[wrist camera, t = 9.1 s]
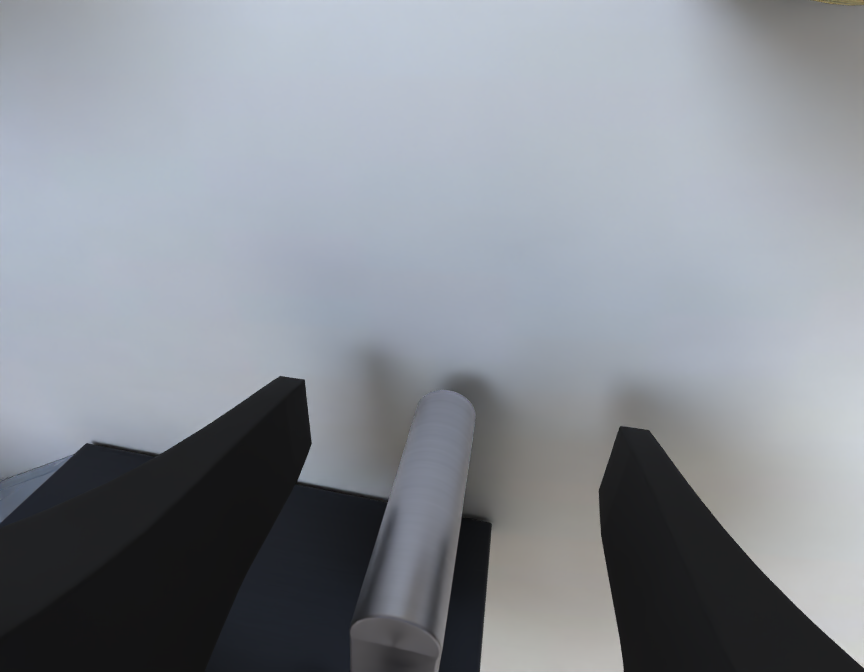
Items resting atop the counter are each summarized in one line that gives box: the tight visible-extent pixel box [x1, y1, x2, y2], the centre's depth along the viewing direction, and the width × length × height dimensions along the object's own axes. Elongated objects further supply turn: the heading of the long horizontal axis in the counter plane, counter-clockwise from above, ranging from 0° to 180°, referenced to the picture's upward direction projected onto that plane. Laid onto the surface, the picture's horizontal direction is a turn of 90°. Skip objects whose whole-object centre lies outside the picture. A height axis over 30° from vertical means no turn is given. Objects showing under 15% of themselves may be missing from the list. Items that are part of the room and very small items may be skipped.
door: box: [0, 390, 492, 672], centre depth 12 cm, size 8×16×12 cm, turn 85°
